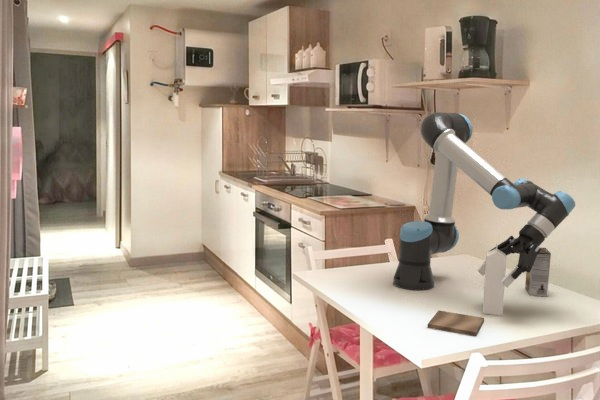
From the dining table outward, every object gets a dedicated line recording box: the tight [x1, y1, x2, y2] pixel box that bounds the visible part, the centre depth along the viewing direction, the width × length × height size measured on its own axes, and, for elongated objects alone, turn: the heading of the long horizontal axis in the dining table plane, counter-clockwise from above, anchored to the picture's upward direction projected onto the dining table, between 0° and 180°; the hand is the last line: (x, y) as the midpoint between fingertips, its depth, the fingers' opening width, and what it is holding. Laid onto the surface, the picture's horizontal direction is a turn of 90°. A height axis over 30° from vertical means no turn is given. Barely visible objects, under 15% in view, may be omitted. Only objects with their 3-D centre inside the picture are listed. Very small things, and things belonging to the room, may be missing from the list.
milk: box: [482, 243, 507, 317], centre depth 179 cm, size 6×6×22 cm
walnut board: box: [427, 310, 485, 337], centre depth 168 cm, size 14×14×1 cm
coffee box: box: [524, 247, 552, 298], centre depth 202 cm, size 9×6×16 cm
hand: (491, 278), depth 179 cm, fingers open, 13 cm apart
